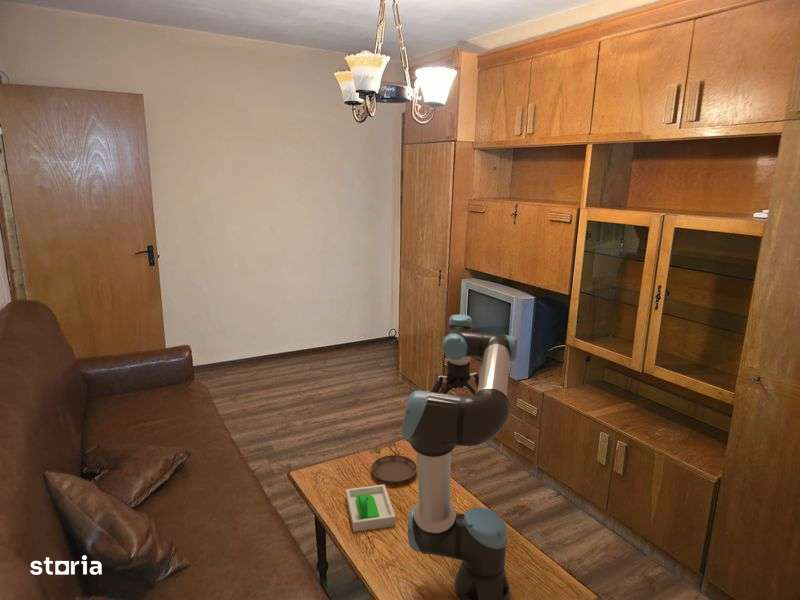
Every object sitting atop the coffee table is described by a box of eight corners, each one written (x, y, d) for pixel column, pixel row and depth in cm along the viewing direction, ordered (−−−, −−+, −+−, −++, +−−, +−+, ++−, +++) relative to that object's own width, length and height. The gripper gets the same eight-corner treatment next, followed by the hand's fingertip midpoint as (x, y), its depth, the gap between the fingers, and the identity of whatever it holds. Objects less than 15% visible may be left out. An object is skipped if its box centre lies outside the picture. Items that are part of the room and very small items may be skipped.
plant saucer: (364, 482, 194) (364, 475, 193) (379, 458, 210) (379, 451, 209) (409, 491, 189) (409, 484, 188) (421, 465, 205) (422, 459, 204)
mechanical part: (379, 520, 172) (379, 499, 169) (361, 523, 170) (361, 502, 168) (372, 498, 183) (372, 478, 181) (356, 500, 181) (355, 480, 179)
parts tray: (395, 525, 171) (395, 516, 170) (353, 531, 168) (353, 522, 167) (384, 492, 188) (384, 484, 187) (346, 497, 184) (345, 489, 184)
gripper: (489, 354, 177) (486, 410, 182) (419, 359, 171) (417, 417, 177) (498, 362, 170) (494, 420, 175) (425, 368, 164) (423, 428, 170)
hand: (456, 419), depth 176 cm, fingers open, 13 cm apart
